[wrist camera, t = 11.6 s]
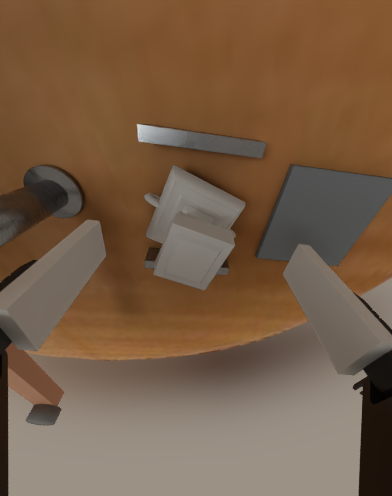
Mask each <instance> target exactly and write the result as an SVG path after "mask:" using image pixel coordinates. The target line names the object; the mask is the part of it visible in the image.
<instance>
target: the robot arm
mask: <svg viewBox="0 0 392 496" xmlns="http://www.w3.org/2000/svg"><path fill="white" fill-rule="evenodd" d="M106 256H107V255H106V250H105V245H104V240H103V235H102V230H101V225H100V221H96V220H86V221H85V222H84V223H82V224H81V225H80V226H79V227H78V228H76V229H75V230H74V231H73V232H72V233H70V234H69V235H68V236H67V237H66V238H64V239H63V240H62V241H61V242H60V243H58V244H57V245H56V246H55V247H54V248H52V249H51V250H50V251H49V252H48V253H46V254H45V255H44V256H43V257H42V258H40V259H39V260H33V261H31V262H29V263H27V264H24V265H22V266H20V267H19V268H18V269H17V270H15V271H14V272H13V273H12V274H11V275H10V276H8V277H6V278H5V279H4V280H3V281H2V283H0V496H8V354H7V352H6V348H7V347H8V346H9V345H10V344H11V343H13V344H14V345H15V346H16V347H17V349H18V350H29V351H38V350H39V349H40V347H41V346H42V345H43V343H44V342H45V340H46V339H47V338H48V336H49V335H50V333H51V332H52V331H53V329H54V328H55V326H56V325H57V324H58V322H59V321H60V319H61V318H62V317H63V315H64V314H65V313H66V311H67V310H68V308H69V307H70V306H71V304H72V303H73V301H74V300H75V299H76V297H77V296H78V294H79V293H80V292H81V290H82V289H83V288H84V286H85V285H86V283H87V282H88V281H89V279H90V278H91V276H92V275H93V274H94V272H95V271H96V269H97V268H98V267H99V265H100V264H101V262H102V261H103V260H104V258H105V257H106ZM283 276H284V278H285V279H286V281H287V283H288V285H289V287H290V288H291V290H292V292H293V294H294V296H295V297H296V299H297V301H298V303H299V305H300V306H301V308H302V310H303V312H304V314H305V315H306V317H307V319H308V321H309V323H310V324H311V326H312V328H313V330H314V332H315V333H316V335H317V337H318V339H319V341H320V342H321V344H322V346H323V348H324V350H325V351H326V353H327V355H328V357H329V358H330V360H331V362H332V364H333V366H334V367H335V369H336V371H337V373H338V374H345V375H355V374H357V373H358V372H360V371H361V370H364V371H365V373H366V374H367V375H368V376H367V377H366V378H364V379H362V380H361V381H359V382H357V383H356V384H354V386H353V389H354V390H357V389H358V388H360V387H363V391H361V392H360V394H361V395H363V400H362V424H361V449H360V473H359V474H360V475H359V496H392V329H391V328H390V327H389V326H388V325H387V324H386V323H385V322H384V321H383V320H382V319H381V318H379V316H378V315H377V313H376V312H375V311H372V308H371V307H370V306H369V305H368V304H367V303H366V302H365V301H364V300H363V299H362V298H360V297H359V296H358V295H356V294H355V293H354V292H352V291H351V290H350V289H349V288H348V287H347V286H346V285H345V283H344V282H343V281H342V280H341V279H340V278H339V277H338V276H337V275H336V274H335V272H334V271H333V270H332V269H331V268H330V267H329V266H328V265H327V264H326V263H325V262H324V260H323V259H322V258H321V257H320V256H319V255H318V254H317V253H316V252H315V251H314V250H313V248H312V247H311V246H310V245H304V244H298V246H297V248H296V250H295V252H294V253H293V255H292V257H291V259H290V261H289V263H288V265H287V267H286V268H285V270H284V272H283Z"/></svg>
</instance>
